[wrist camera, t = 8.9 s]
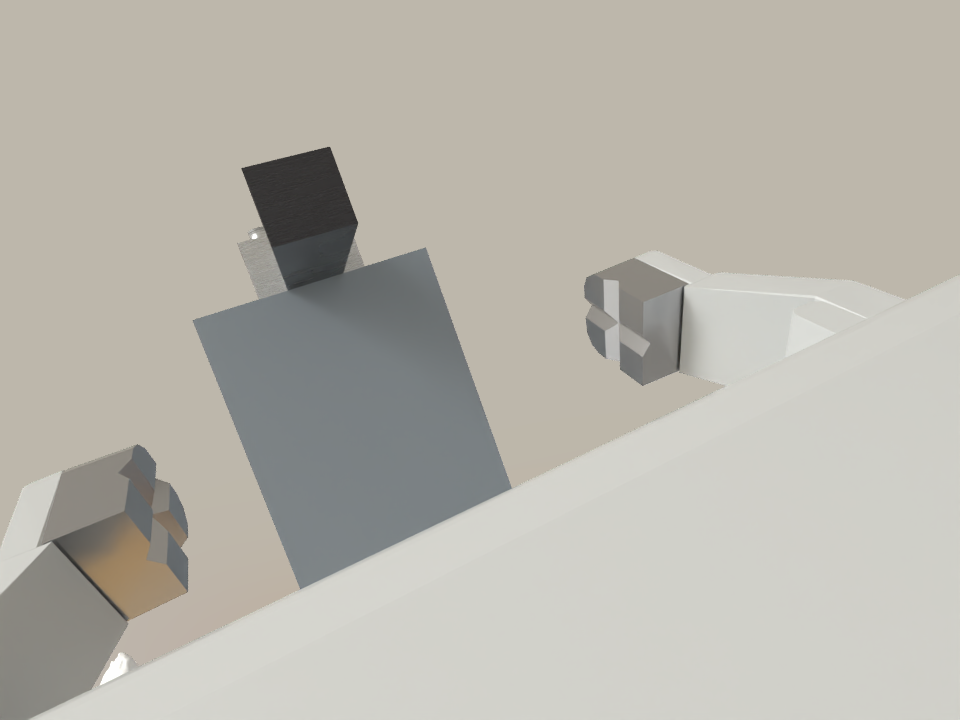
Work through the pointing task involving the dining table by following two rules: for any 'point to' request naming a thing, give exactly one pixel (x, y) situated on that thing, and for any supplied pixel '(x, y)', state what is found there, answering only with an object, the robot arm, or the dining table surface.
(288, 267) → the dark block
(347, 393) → the stand
